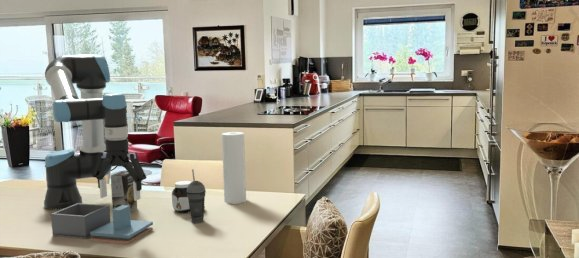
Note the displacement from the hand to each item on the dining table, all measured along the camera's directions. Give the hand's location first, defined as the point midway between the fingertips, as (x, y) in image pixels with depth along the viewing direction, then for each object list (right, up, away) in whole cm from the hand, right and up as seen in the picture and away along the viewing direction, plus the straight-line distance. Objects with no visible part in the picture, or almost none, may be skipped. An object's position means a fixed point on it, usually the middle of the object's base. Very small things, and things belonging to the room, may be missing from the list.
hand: (120, 198), depth 181 cm
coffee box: (-8, -10, +30) cm, 32 cm away
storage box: (-16, -13, +6) cm, 21 cm away
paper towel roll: (+36, -7, +43) cm, 56 cm away
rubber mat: (0, -13, +1) cm, 13 cm away
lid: (0, -12, +1) cm, 13 cm away
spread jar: (+19, -9, +30) cm, 37 cm away
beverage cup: (+24, -11, +15) cm, 31 cm away
